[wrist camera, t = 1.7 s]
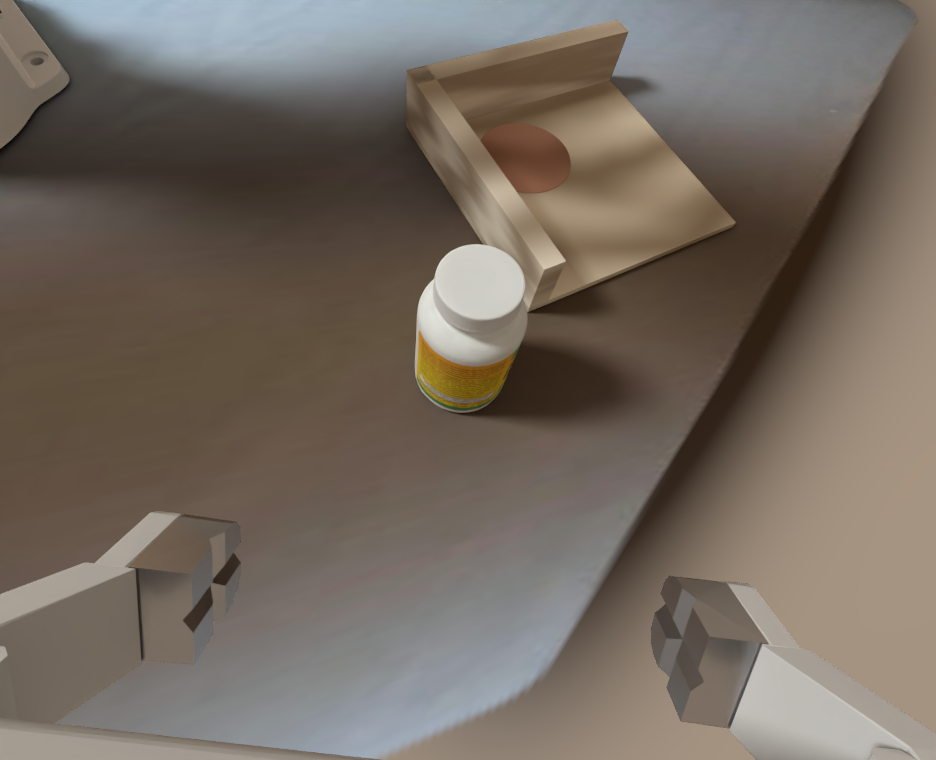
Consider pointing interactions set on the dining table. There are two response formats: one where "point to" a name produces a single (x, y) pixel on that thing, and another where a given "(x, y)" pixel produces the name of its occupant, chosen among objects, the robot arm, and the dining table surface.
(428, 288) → the supplement bottle
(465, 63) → the tray
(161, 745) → the robot arm
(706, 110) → the dining table surface
